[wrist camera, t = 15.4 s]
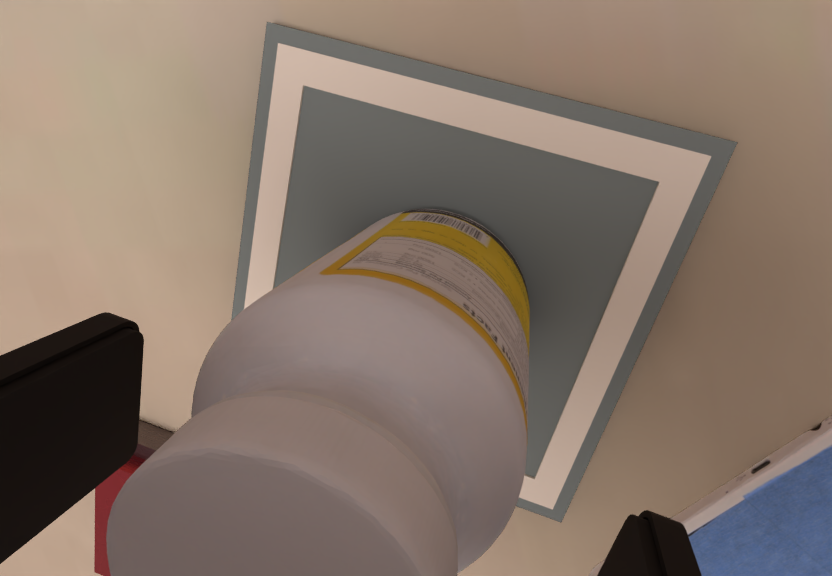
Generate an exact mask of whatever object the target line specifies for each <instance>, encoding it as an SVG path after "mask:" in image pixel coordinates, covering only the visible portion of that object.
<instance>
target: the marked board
mask: <svg viewBox="0 0 832 576" xmlns="http://www.w3.org/2000/svg"><path fill="white" fill-rule="evenodd" d="M737 143H738V142H734V141H730V140H726V139H722V138H718V137H714V136H710V135H707V134H703V133H699V132H695V131H691V130H687V129H683V128H679V127H675V126H671V125H668V124H664V123H660V122H656V121H652V120H648V119H644V118H640V117H636V116H632V115H629V114H625V113H621V112H617V111H613V110H609V109H605V108H601V107H597V106H593V105H590V104H586V103H582V102H578V101H574V100H570V99H566V98H562V97H558V96H554V95H551V94H547V93H543V92H539V91H535V90H531V89H527V88H523V87H519V86H515V85H512V84H508V83H504V82H500V81H496V80H492V79H488V78H484V77H480V76H476V75H473V74H469V73H465V72H461V71H457V70H453V69H449V68H445V67H441V66H437V65H434V64H430V63H426V62H422V61H418V60H414V59H410V58H406V57H402V56H398V55H395V54H391V53H387V52H383V51H379V50H375V49H371V48H367V47H363V46H359V45H356V44H352V43H348V42H344V41H340V40H336V39H332V38H328V37H324V36H320V35H317V34H313V33H309V32H305V31H301V30H297V29H293V28H289V27H285V26H281V25H278V24H274V23H270V22H267V26H266V34H265V42H264V51H263V59H262V68H261V76H260V84H259V93H258V101H257V109H256V118H255V126H254V135H253V143H252V151H251V160H250V168H249V177H248V185H247V193H246V202H245V210H244V218H243V227H242V235H241V244H240V252H239V260H238V269H237V277H236V286H235V294H234V302H233V311H232V319H231V321H232V320H233V319H234V318H235V317H236V316H237V315H238V314H239V313H240V312H241V311H243V310H244V309H245V308H247V307H248V306H249V305H251V304H252V303H253V302H255V301H256V300H258V299H259V298H260V297H262V296H263V295H265V294H267V293H268V292H270V291H271V290H273V289H274V288H276V287H277V286H279V285H280V284H282V283H283V282H285V281H286V280H288V279H289V278H291V277H293V276H294V275H296V274H297V273H299V272H300V271H301V270H303V269H304V268H306V267H307V266H309V265H310V264H312V263H313V262H315V261H317V260H318V259H320V258H321V257H323V256H324V255H326V254H327V253H329V252H331V251H332V250H334V249H335V248H337V247H338V246H340V245H342V244H343V243H345V242H347V241H348V240H350V239H351V238H353V237H354V236H356V235H357V234H358V233H360V232H362V231H363V230H364V229H366V228H367V227H369V226H370V225H372V224H374V223H376V222H377V221H379V220H381V219H383V218H385V217H388V216H390V215H393V214H396V213H399V212H403V211H408V210H415V209H436V210H443V211H448V212H452V213H455V214H459V215H461V216H464V217H467V218H469V219H471V220H473V221H475V222H477V223H479V224H480V225H482V226H484V227H485V228H486V229H488V230H489V231H490V232H492V233H493V234H494V235H495V236H496V237H497V238H498V239H500V240H501V241H502V243H503V244H504V245H505V246H506V247H507V248H508V250H509V251H510V252H511V254H512V255H513V257H514V258H515V260H516V261H517V263H518V265H519V267H520V269H521V272H522V274H523V276H524V279H525V282H526V286H527V291H528V296H529V307H530V324H529V385H528V436H527V453H526V466H525V474H524V480H523V484H522V488H521V491H520V495H519V498H518V501H517V504H516V506H517V507H520V508H523V509H526V510H528V511H531V512H534V513H537V514H539V515H542V516H545V517H548V518H550V519H553V520H556V521H559V522H562V520H563V518H564V515H565V513H566V511H567V509H568V507H569V505H570V503H571V500H572V498H573V496H574V494H575V492H576V490H577V487H578V485H579V483H580V481H581V479H582V477H583V475H584V472H585V470H586V468H587V466H588V464H589V462H590V459H591V457H592V455H593V453H594V451H595V449H596V447H597V444H598V442H599V440H600V438H601V436H602V434H603V431H604V429H605V427H606V425H607V423H608V421H609V418H610V416H611V414H612V412H613V410H614V408H615V406H616V403H617V401H618V399H619V397H620V395H621V393H622V390H623V388H624V386H625V384H626V382H627V380H628V378H629V375H630V373H631V371H632V369H633V367H634V365H635V362H636V360H637V358H638V356H639V354H640V352H641V350H642V347H643V345H644V343H645V341H646V339H647V337H648V334H649V332H650V330H651V328H652V326H653V324H654V322H655V319H656V317H657V315H658V313H659V311H660V309H661V306H662V304H663V302H664V300H665V298H666V296H667V293H668V291H669V289H670V287H671V285H672V283H673V281H674V278H675V276H676V274H677V272H678V270H679V268H680V265H681V263H682V261H683V259H684V257H685V255H686V253H687V250H688V248H689V246H690V244H691V242H692V240H693V237H694V235H695V233H696V231H697V229H698V227H699V225H700V222H701V220H702V218H703V216H704V214H705V212H706V209H707V207H708V205H709V203H710V201H711V199H712V197H713V194H714V192H715V190H716V188H717V186H718V184H719V181H720V179H721V177H722V175H723V173H724V171H725V169H726V166H727V164H728V162H729V160H730V158H731V156H732V153H733V151H734V149H735V147H736V145H737Z"/></svg>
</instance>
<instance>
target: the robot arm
mask: <svg viewBox="0 0 832 576" xmlns="http://www.w3.org/2000/svg"><path fill="white" fill-rule="evenodd" d="M143 344H144V339H143V335H142V334H141V333H140V332H139V327H138V325H137V324H136V323H135V322H133V321H130V320H128V319H125V318H122V317H119V316H117V315H114V314H111V313H106V312H105V313H101V314H98V315H96V316H94V317H91V318H89V319H86V320H84V321H82V322H79V323H77V324H75V325H72V326H70V327H67V328H65V329H63V330H60V331H58V332H56V333H53V334H51V335H48V336H46V337H44V338H41V339H39V340H37V341H34V342H32V343H29V344H27V345H25V346H22V347H20V348H17V349H15V350H13V351H10V352H8V353H6V354H3V355H1V356H0V564H1V563H2V562H3V561H4V560H6V559H7V558H8V557H9V556H11V555H12V554H13V553H14V552H16V551H17V550H18V549H19V548H21V547H22V546H23V545H24V544H26V543H27V542H28V541H29V540H31V539H32V538H33V537H34V536H36V535H37V534H38V533H39V532H41V531H42V530H43V529H44V528H46V527H47V526H48V525H49V524H51V523H52V522H53V521H54V520H56V519H57V518H58V517H59V516H61V515H62V514H63V513H64V512H66V511H67V510H68V509H69V508H71V507H72V506H73V505H74V504H76V503H77V502H78V501H79V500H81V499H82V498H83V497H84V496H86V495H87V494H88V493H89V492H91V491H92V490H93V489H94V488H96V487H97V486H98V485H99V484H101V483H102V482H103V481H104V480H106V479H107V478H108V477H109V476H111V475H112V474H113V473H114V472H116V471H117V470H118V469H119V468H121V467H122V466H123V465H124V464H126V463H127V462H128V461H129V460H130V458H131V457H132V456H133V454H134V452H135V450H136V448H137V444H138V430H139V413H140V396H141V379H142V362H143ZM597 576H702V575H701V572H700V569H699V566H698V563H697V560H696V557H695V554H694V552H693V549H692V546H691V543H690V540H689V537H688V534H687V531H686V529H685V527H684V525H683V524H682V523H680V522H678V521H675V520H672V519H670V518H667V517H664V516H661V515H659V514H656V513H653V512H650V511H648V510H646V511H643V512H642V513H641V514H640V515H639V517H638V516H635V515H629V516H628V517H627V519H626V521H625V523H624V524H623V526H622V528H621V530H620V532H619V534H618V536H617V538H616V540H615V542H614V544H613V546H612V548H611V550H610V552H609V553H608V555H607V557H606V559H605V561H604V563H603V565H602V567H601V569H600V571H599V573H598V575H597Z"/></svg>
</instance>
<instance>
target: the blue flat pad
mask: <svg viewBox="0 0 832 576" xmlns="http://www.w3.org/2000/svg"><path fill="white" fill-rule="evenodd" d="M670 519H672V520H675V521H678V522H680V523H682V524H683V525H684V527H685V529H686V531H687V534H688V537H689V540H690V543H691V546H692V549H693V552H694V554H695V557H696V560H697V563H698V566H699V569H700V572H701V575H702V576H832V415H831V416H830V417H828V418H827V419H825V420H823V421H822V423H821V424H820V426H819V427H818V428H817V429H815V430H809V431H807V432H805V433H803V434H801V435H800V436H798V437H797V438H795V439H793V440H792V441H790V442H789V443H787V444H786V445H784V446H783V447H781V448H780V449H778V450H776V451H775V452H773V453H772V454H770V455H769V456H767V457H765V458H764V459H763V460H761V461H760V462H758V463H757V464H755V465H754V466H752V467H750V468H749V469H747V470H746V471H744V472H742V473H741V474H739V475H738V476H736V477H734V478H733V479H731V480H730V481H728V482H727V483H725V484H723V485H722V486H720V487H719V488H717V489H716V490H714V491H712V492H711V493H709V494H708V495H706V496H705V497H703V498H702V499H700V500H698V501H697V502H695V503H694V504H692V505H691V506H689V507H687V508H686V509H684V510H683V511H681V512H680V513H678V514H677V515H675V516H673V517H672V518H670ZM604 561H605V560H603V561H602V562H600V563H599V564H597V565H596V566H595V567H594V568H593V569H592V570H591V572H590V573H589V576H597V575H598V573H599V571H600V569H601V567H602V565H603V563H604Z"/></svg>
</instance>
